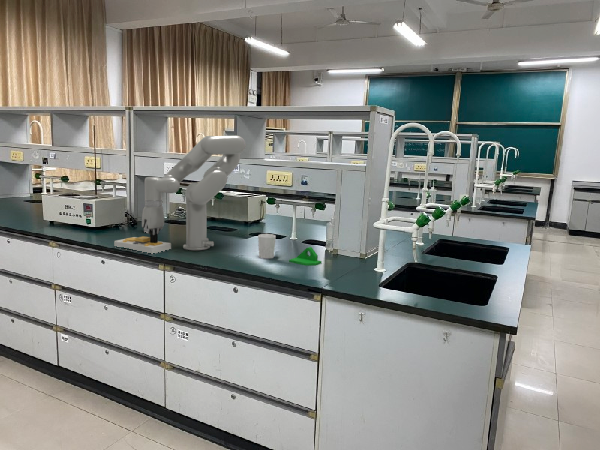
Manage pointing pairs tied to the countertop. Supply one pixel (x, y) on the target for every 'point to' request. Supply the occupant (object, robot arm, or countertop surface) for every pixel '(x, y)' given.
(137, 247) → the white flat piece
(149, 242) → the key
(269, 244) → the white cup
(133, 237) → the key
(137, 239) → the key
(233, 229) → the countertop surface
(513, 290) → the countertop surface
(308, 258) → the bracket
